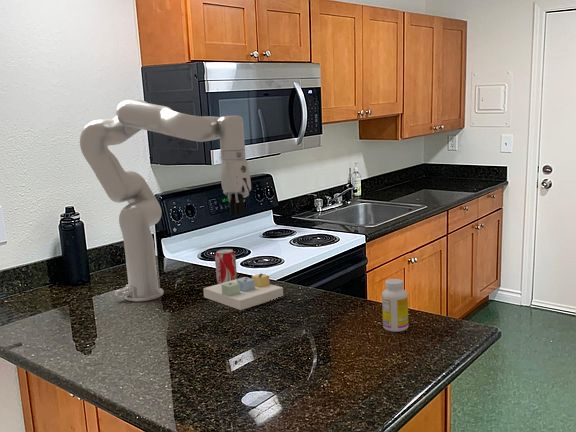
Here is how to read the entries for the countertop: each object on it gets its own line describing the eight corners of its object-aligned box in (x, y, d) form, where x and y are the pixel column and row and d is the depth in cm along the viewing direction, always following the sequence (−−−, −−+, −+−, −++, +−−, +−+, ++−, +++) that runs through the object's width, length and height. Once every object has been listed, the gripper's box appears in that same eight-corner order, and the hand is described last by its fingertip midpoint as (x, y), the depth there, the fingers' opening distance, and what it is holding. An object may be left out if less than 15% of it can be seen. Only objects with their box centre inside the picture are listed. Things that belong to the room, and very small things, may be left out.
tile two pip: (245, 294, 185) (244, 281, 184) (237, 292, 188) (236, 279, 187) (255, 291, 187) (254, 279, 187) (247, 289, 190) (246, 276, 190)
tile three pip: (260, 290, 189) (259, 277, 188) (252, 288, 192) (251, 275, 191) (269, 287, 191) (269, 274, 191) (262, 285, 194) (261, 272, 194)
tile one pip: (229, 299, 181) (228, 286, 180) (222, 296, 184) (221, 283, 183) (240, 296, 184) (239, 283, 183) (232, 293, 187) (231, 281, 186)
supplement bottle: (410, 324, 157) (409, 278, 155) (406, 333, 151) (405, 285, 149) (385, 322, 160) (383, 277, 157) (380, 331, 154) (379, 284, 151)
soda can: (234, 287, 201) (231, 253, 199) (214, 287, 202) (211, 253, 200) (239, 281, 207) (237, 248, 205) (220, 281, 209) (218, 248, 207)
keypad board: (240, 310, 177) (239, 300, 176) (204, 297, 192) (203, 288, 191) (283, 296, 187) (282, 287, 187) (245, 285, 202) (245, 276, 202)
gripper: (258, 155, 178) (262, 215, 181) (228, 154, 190) (232, 210, 193) (238, 157, 173) (242, 218, 177) (208, 156, 185) (213, 214, 188)
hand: (237, 214), depth 185 cm, fingers closed
